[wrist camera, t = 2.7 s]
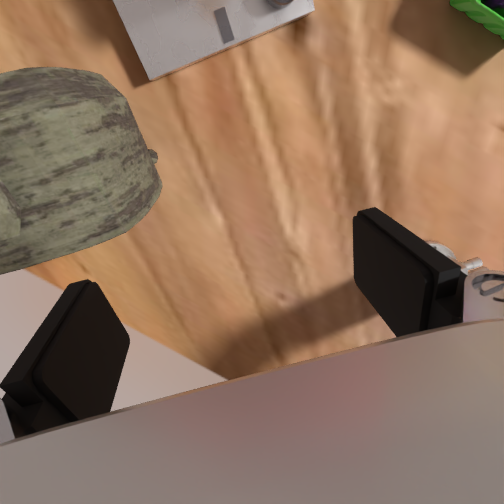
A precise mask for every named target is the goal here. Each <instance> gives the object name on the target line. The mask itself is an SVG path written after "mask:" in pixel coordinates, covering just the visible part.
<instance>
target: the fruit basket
mask: <svg viewBox="0 0 504 504" xmlns="http://www.w3.org/2000/svg"><path fill="white" fill-rule="evenodd" d="M450 5H451V6H453V7H454V8H456V9H457V10H459V11H465V13H466V15H467V16H468V17H469V18H471V19H472V20H474V21H475V22H477V23H483V25H484V27H485V28H486V29H488V30H489V31H491V32H492V33H494V34H498V35H500V37H501V38H502V39H503V40H504V0H450Z"/></svg>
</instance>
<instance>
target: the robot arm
mask: <svg viewBox="0 0 504 504" xmlns="http://www.w3.org/2000/svg"><path fill="white" fill-rule="evenodd" d="M353 257H354V279H355V283H356V285H357V286H358V288H359V289H360V290H361V291H362V293H363V294H364V295H365V297H366V298H367V299H368V300H369V302H370V303H371V304H372V306H373V307H374V308H375V309H376V311H377V312H378V313H379V315H380V316H381V317H382V319H383V320H384V321H385V322H386V324H387V325H388V326H389V328H390V329H391V330H392V331H393V333H394V334H395V335H396V338H392V339H388V340H384V341H379V342H375V343H371V344H367V345H363V346H360V347H356V348H352V349H348V350H344V351H340V352H336V353H332V354H328V355H324V356H321V357H317V358H313V359H309V360H305V361H301V362H297V363H293V364H289V365H285V366H282V367H278V368H274V369H270V370H266V371H262V372H259V373H255V374H251V375H247V376H243V377H239V378H236V379H232V380H228V381H225V382H220V383H217V384H213V385H209V386H205V387H201V388H198V389H194V390H190V391H186V392H183V393H179V394H175V395H171V396H167V397H164V398H160V399H156V400H153V401H149V402H145V403H141V404H138V405H134V406H130V407H127V408H123V409H119V410H115V411H111V412H110V410H111V407H112V403H113V400H114V397H115V393H116V390H117V386H118V383H119V379H120V376H121V372H122V369H123V366H124V362H125V359H126V355H127V352H128V348H129V344H130V338H129V335H128V333H127V331H126V330H125V328H124V326H123V325H122V323H121V321H120V320H119V318H118V317H117V315H116V313H115V312H114V310H113V308H112V307H111V305H110V303H109V302H108V300H107V299H106V297H105V295H104V294H103V292H102V290H101V289H100V287H99V285H98V284H97V283H96V282H91V281H90V280H88V279H87V280H83V281H79V282H75V283H71V284H69V285H68V286H67V288H66V289H65V291H64V292H63V294H62V295H61V297H60V298H59V300H58V301H57V302H56V304H55V305H54V307H53V308H52V310H51V311H50V313H49V314H48V316H47V317H46V318H45V320H44V321H43V323H42V324H41V326H40V327H39V329H38V330H37V331H36V333H35V334H34V336H33V337H32V339H31V340H30V342H29V343H28V345H27V346H26V347H25V349H24V351H23V352H22V353H21V355H20V356H19V358H18V359H17V361H16V362H15V364H14V365H13V366H12V368H11V369H10V371H9V372H8V374H7V375H6V377H5V378H4V379H3V381H2V382H1V384H0V388H1V389H3V390H4V391H5V392H6V393H5V395H4V397H3V398H2V399H1V398H0V504H504V272H502V271H495V270H489V269H488V268H487V267H484V266H482V265H483V263H482V261H481V259H480V258H478V257H476V258H473V259H470V260H467V261H466V262H459V261H457V260H456V257H455V255H454V253H453V252H452V251H451V250H450V249H449V248H447V247H446V246H444V245H443V244H440V243H438V242H433V241H424V240H422V239H421V238H419V237H418V236H416V235H415V234H413V233H412V232H411V231H409V230H408V229H406V228H405V227H403V226H402V225H400V224H399V223H398V222H396V221H395V220H393V219H392V218H390V217H389V216H388V215H386V214H385V213H383V212H382V211H380V210H379V209H377V208H376V207H373V208H369V209H365V210H361V211H358V213H357V216H354V217H353ZM480 266H482V267H480ZM477 267H479V268H477ZM474 268H476V269H474ZM470 269H473V270H470ZM468 270H470V272H468Z"/></svg>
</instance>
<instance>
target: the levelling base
mask: <svg viewBox="0 0 504 504" xmlns="http://www.w3.org/2000/svg"><path fill="white" fill-rule="evenodd" d="M113 2H114V4H115V6H116V8H117V10H118V13H119V15H120V17H121V19H122V21H123V23H124V26H125V28H126V30H127V32H128V34H129V36H130V39H131V41H132V43H133V45H134V47H135V49H136V52H137V54H138V56H139V58H140V60H141V62H142V65H143V67H144V69H145V71H146V73H147V75H148V78H149V80H152V81H154V80H157V79H159V78H161V77H164V76H166V75H168V74H171V73H173V72H176V71H178V70H180V69H183V68H185V67H187V66H190V65H192V64H194V63H197V62H199V61H202V60H204V59H206V58H209V57H211V56H213V55H216V54H218V53H221V52H223V51H225V50H228V49H230V48H232V47H235V46H237V45H239V44H242V43H244V42H247V41H249V40H251V39H254V38H256V37H258V36H261V35H263V34H266V33H268V32H270V31H273V30H275V29H277V28H280V27H282V26H284V25H287V24H289V23H292V22H294V21H296V20H299V19H301V18H303V17H306V16H308V15H309V14H311V13H312V12H313V11H314V10H315V9H314V4H313V0H113Z"/></svg>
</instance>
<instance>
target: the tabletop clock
mask: <svg viewBox="0 0 504 504" xmlns="http://www.w3.org/2000/svg"><path fill="white" fill-rule="evenodd" d="M157 160H158V156H157V153H156V152H155V151H153V150H151V149H147V146H146V144H145V142H144V139H143V137H142V135H141V132H140V130H139V128H138V125H137V123H136V121H135V118H134V116H133V113H132V111H131V109H130V106H129V104H128V102H127V99H126V98H125V97H124V96H123V95H122V94H121V93H120V92H119V91H118V90H117V89H116V88H115V87H114V86H113V85H112V84H110V83H109V82H108V81H107V80H106V79H105V78H104V77H103V76H102V75H100V74H97V73H93V72H89V71H85V70H77V69H68V68H58V67H36V68H24V69H19V70H15V71H10V72H5V73H1V74H0V275H1V274H5V273H8V272H12V271H16V270H20V269H24V268H27V267H30V266H33V265H36V264H39V263H42V262H46V261H49V260H52V259H55V258H58V257H61V256H64V255H68V254H71V253H74V252H77V251H80V250H83V249H86V248H89V247H92V246H94V245H97V244H100V243H102V242H105V241H107V240H110V239H112V238H114V237H117V236H119V235H121V234H123V233H126V232H127V231H128V230H130V229H131V228H132V227H133V226H134V225H136V224H137V223H138V222H139V221H140V220H141V219H142V218H143V217H144V216H145V215H146V214H147V213H148V212H149V210H150V209H151V208H152V206H153V205H154V203H155V202H156V200H157V199H158V197H159V196H160V192H161V189H162V182H161V179H160V177H159V175H158V172H157V170H156V168H155V165H154V164H155V163H156V162H157Z"/></svg>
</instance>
